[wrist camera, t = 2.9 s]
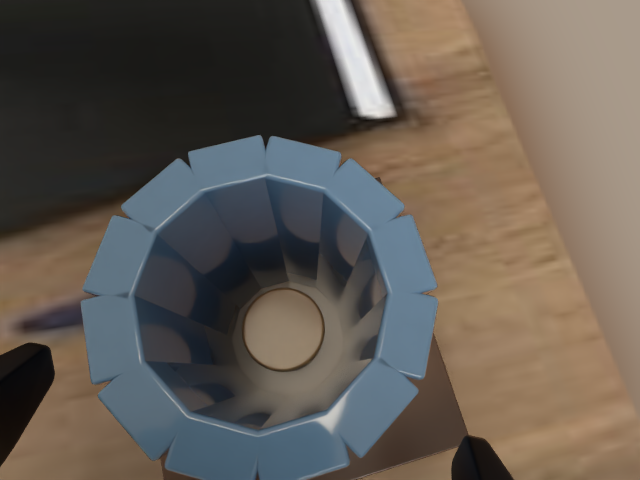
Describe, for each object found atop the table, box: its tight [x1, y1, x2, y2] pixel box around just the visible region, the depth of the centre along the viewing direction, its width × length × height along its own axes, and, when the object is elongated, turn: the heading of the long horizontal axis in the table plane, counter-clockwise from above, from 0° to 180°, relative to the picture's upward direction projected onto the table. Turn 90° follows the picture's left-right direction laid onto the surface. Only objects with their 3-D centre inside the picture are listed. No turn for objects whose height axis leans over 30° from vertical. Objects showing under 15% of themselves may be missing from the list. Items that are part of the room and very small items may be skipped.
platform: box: [160, 177, 468, 480], centre depth 17 cm, size 11×11×6 cm
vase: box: [81, 135, 438, 480], centre depth 12 cm, size 6×6×10 cm
